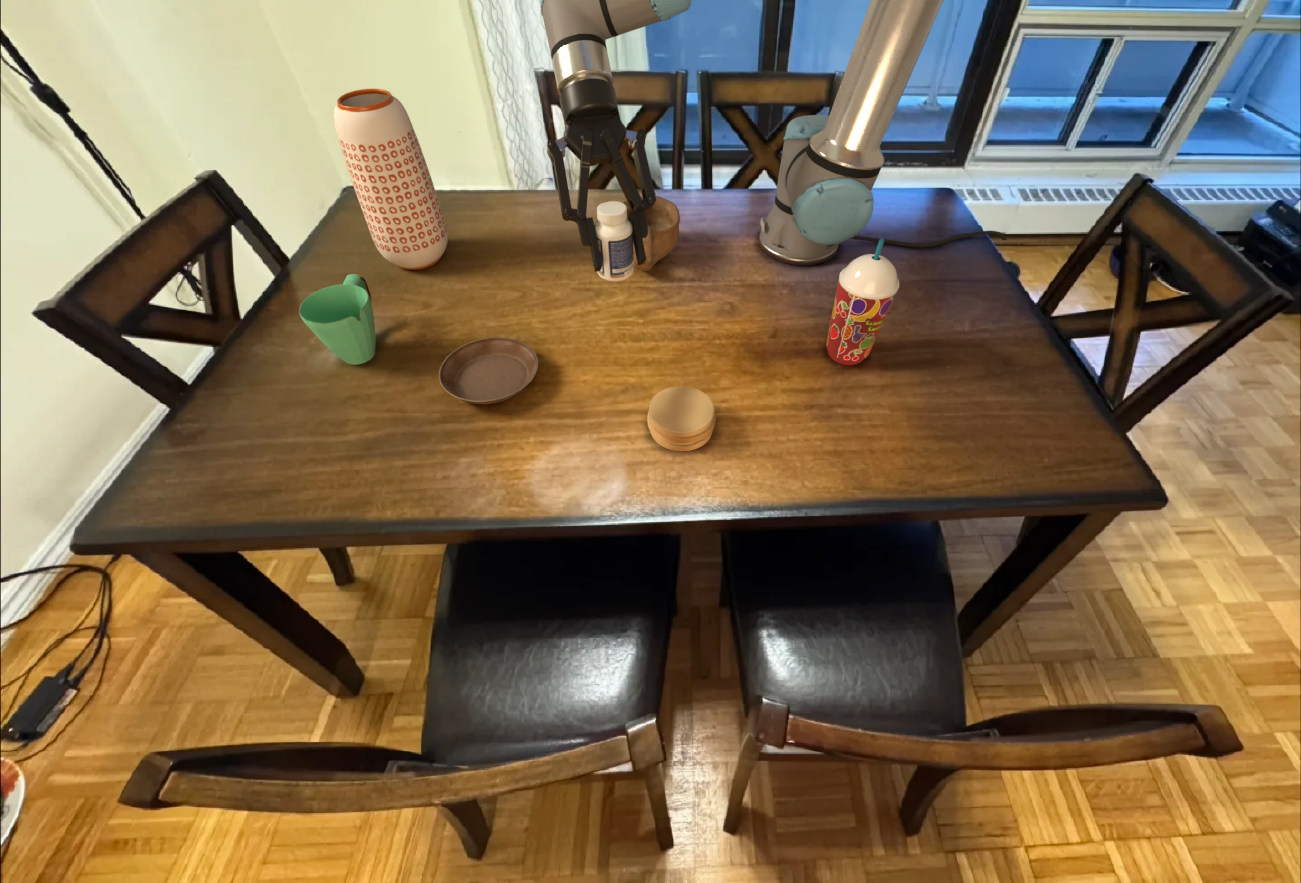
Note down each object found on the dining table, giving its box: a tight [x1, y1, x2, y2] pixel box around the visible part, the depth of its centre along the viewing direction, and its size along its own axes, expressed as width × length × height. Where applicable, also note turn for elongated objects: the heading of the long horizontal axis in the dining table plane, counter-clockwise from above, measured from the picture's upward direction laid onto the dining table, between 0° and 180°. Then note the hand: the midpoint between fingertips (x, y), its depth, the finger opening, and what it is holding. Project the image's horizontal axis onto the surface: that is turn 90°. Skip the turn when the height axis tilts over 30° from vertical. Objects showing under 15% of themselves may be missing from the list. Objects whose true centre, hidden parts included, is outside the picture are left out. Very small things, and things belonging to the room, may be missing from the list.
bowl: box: [622, 195, 681, 271], centre depth 110 cm, size 18×14×10 cm
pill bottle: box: [594, 200, 635, 282], centre depth 81 cm, size 5×5×10 cm
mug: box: [298, 273, 377, 366], centre depth 92 cm, size 15×10×10 cm
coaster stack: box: [646, 385, 717, 452], centre depth 82 cm, size 10×10×4 cm
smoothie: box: [825, 238, 900, 366], centre depth 86 cm, size 8×8×20 cm
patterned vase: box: [333, 88, 449, 271], centre depth 103 cm, size 13×13×28 cm
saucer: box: [438, 336, 539, 405], centre depth 89 cm, size 15×15×3 cm
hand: (620, 265), depth 80 cm, fingers closed on pill bottle, 5 cm apart
